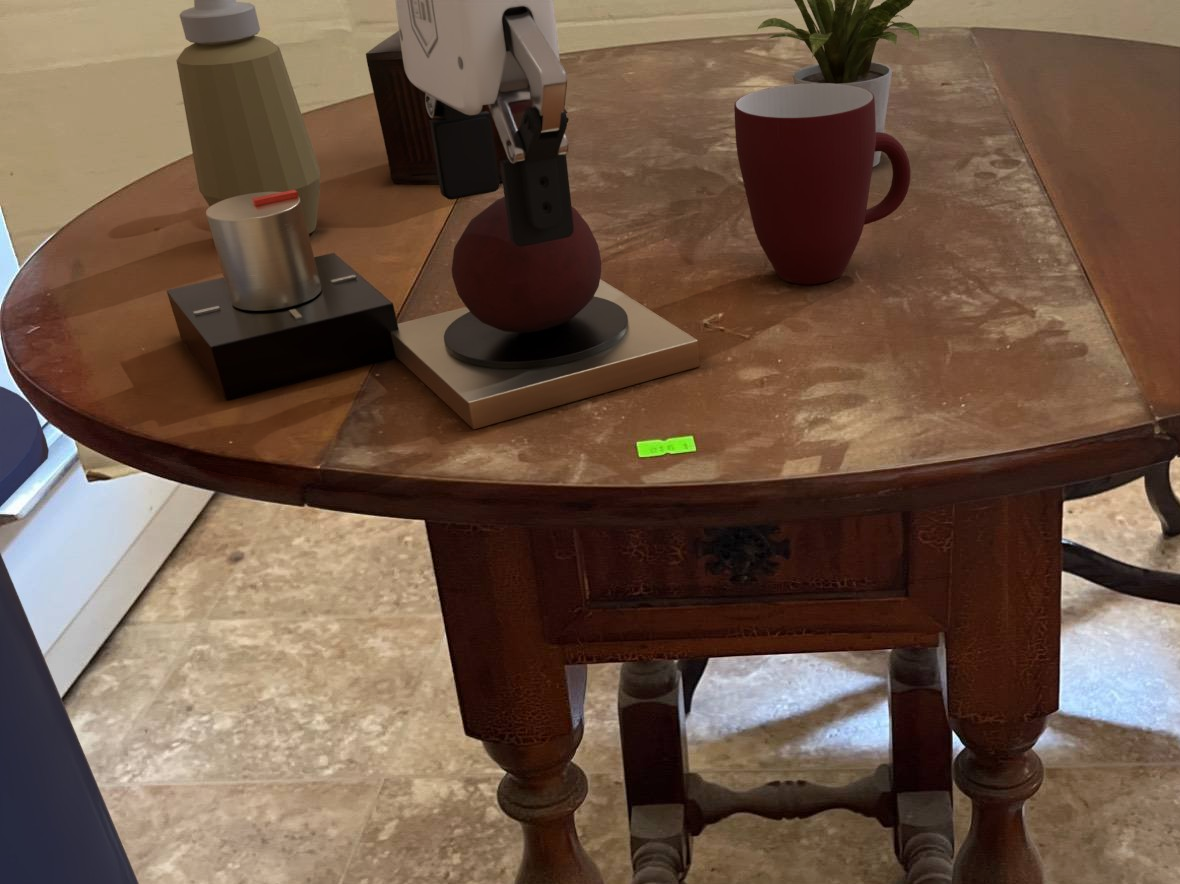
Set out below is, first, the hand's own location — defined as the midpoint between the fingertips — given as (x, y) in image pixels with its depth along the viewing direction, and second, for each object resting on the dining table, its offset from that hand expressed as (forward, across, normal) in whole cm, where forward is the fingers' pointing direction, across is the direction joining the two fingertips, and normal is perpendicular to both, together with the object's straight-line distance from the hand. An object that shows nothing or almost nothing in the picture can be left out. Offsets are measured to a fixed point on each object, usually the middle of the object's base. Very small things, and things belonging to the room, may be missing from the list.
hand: (505, 216), depth 76 cm
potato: (+6, 0, +1) cm, 6 cm away
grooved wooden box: (+8, -42, +11) cm, 44 cm away
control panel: (+8, -11, -10) cm, 17 cm away
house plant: (+7, -21, +33) cm, 40 cm away
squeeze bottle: (+8, -33, -5) cm, 34 cm away
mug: (+7, -2, +21) cm, 22 cm away
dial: (+5, -11, -10) cm, 16 cm away
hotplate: (+8, 0, +1) cm, 8 cm away
